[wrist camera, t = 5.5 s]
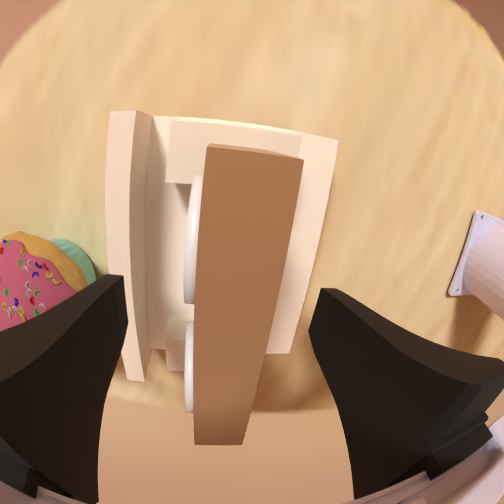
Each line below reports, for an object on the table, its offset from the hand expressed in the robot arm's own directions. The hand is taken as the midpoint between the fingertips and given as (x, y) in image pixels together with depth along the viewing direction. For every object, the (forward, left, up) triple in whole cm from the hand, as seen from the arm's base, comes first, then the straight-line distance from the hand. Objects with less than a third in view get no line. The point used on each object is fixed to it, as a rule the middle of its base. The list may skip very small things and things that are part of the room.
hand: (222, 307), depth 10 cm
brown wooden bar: (0, 0, -2) cm, 2 cm away
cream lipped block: (0, 0, -6) cm, 6 cm away
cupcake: (+10, +3, -7) cm, 12 cm away
